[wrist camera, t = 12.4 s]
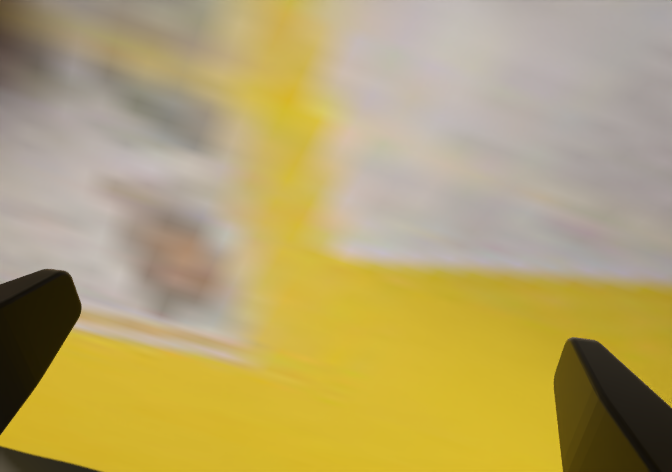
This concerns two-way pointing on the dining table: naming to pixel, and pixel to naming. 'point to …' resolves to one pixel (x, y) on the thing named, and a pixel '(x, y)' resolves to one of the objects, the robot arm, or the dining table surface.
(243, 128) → the dining table surface
